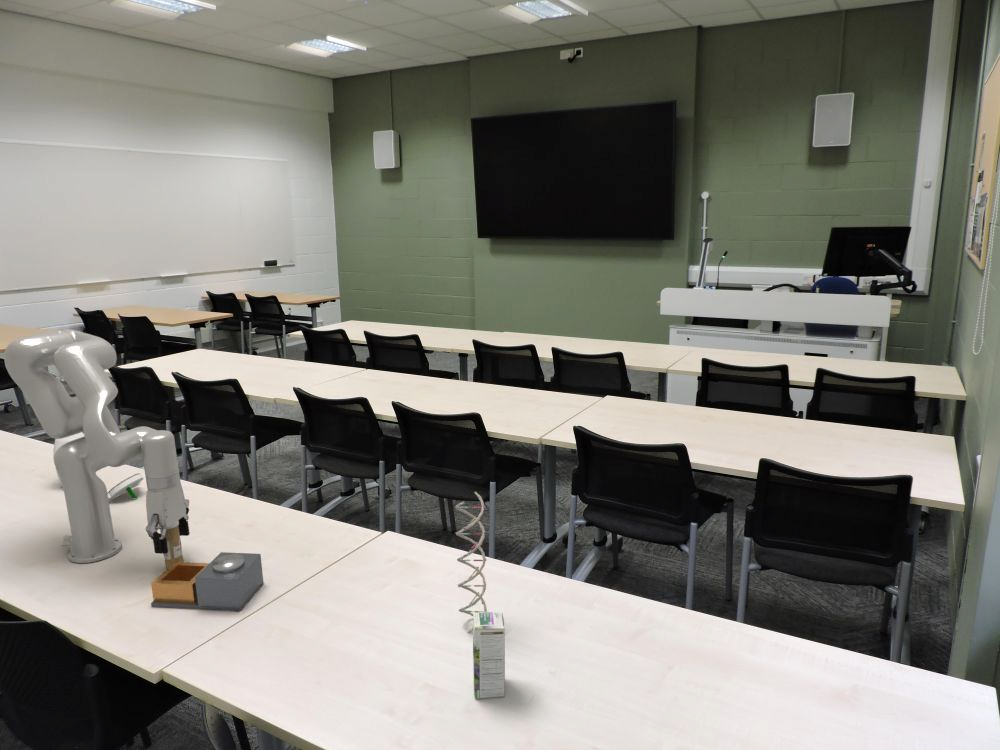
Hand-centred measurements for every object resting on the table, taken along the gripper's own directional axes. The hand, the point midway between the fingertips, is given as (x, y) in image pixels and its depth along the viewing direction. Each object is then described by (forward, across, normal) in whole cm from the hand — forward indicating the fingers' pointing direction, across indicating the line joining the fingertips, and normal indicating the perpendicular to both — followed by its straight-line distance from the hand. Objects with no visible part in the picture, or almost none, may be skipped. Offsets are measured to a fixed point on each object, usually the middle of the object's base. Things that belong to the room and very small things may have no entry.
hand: (172, 543), depth 177 cm
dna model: (+8, +19, +80) cm, 82 cm away
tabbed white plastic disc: (+6, -42, -41) cm, 59 cm away
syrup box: (+8, +39, +86) cm, 94 cm away
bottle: (+6, -50, -64) cm, 82 cm away
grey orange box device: (+7, +10, +15) cm, 20 cm away
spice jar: (+7, 0, 0) cm, 7 cm away
